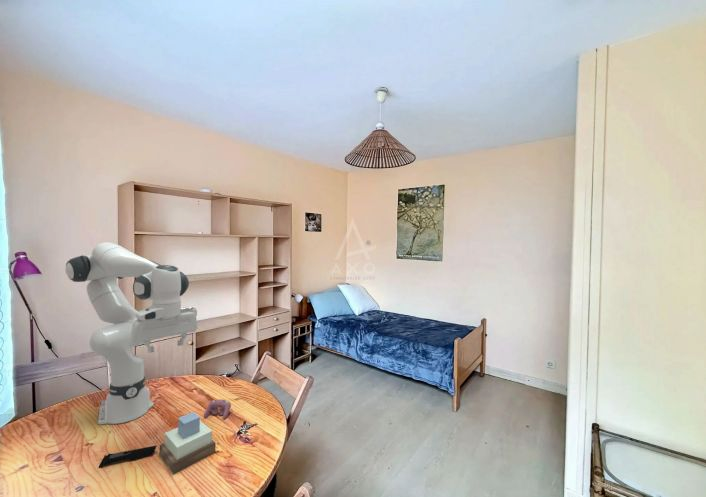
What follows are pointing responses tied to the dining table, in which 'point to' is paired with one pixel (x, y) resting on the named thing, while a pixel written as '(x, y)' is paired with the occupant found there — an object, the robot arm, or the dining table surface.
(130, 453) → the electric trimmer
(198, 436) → the sage slab
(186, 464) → the walnut slab
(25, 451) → the dining table surface
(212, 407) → the video game controller
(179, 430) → the blue cube
